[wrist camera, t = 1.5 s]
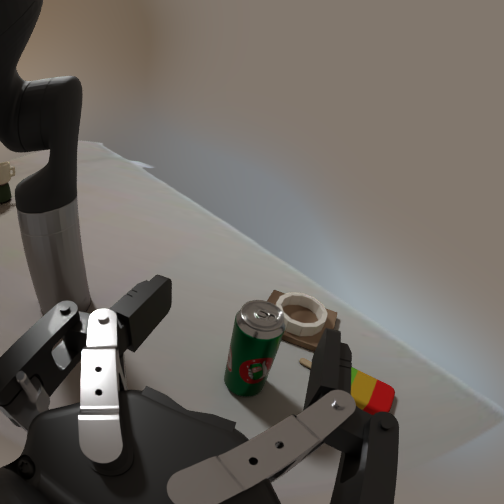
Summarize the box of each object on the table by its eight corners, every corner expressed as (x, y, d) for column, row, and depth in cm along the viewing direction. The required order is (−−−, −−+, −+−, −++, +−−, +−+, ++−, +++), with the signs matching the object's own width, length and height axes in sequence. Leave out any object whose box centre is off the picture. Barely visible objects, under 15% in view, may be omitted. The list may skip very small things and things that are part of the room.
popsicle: (382, 422, 28) (389, 415, 28) (289, 375, 35) (293, 367, 34) (391, 394, 33) (397, 387, 32) (306, 352, 39) (310, 343, 38)
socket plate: (252, 327, 41) (255, 313, 40) (272, 294, 50) (276, 280, 48) (325, 355, 38) (333, 342, 37) (335, 316, 47) (341, 303, 45)
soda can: (233, 361, 35) (248, 291, 29) (269, 376, 34) (293, 308, 28) (216, 388, 31) (227, 319, 25) (255, 404, 29) (279, 339, 24)
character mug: (17, 194, 69) (15, 159, 62) (16, 201, 64) (13, 163, 58) (-7, 201, 62) (-11, 165, 55) (-10, 207, 57) (-14, 169, 51)
